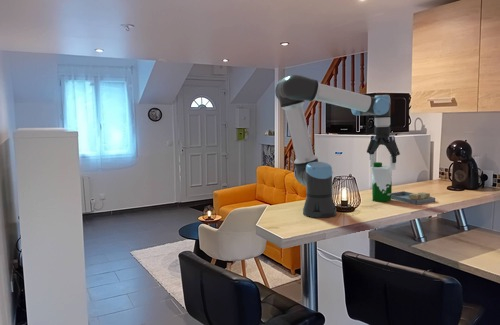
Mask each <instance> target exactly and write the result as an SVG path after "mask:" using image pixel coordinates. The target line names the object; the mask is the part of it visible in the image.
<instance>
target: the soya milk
mask: <svg viewBox="0 0 500 325" xmlns="http://www.w3.org/2000/svg"><path fill="white" fill-rule="evenodd" d="M371 174H372V176H371V177H372V179H371V180H372V185H371V186H372V187H371V188H372V189H371V190H372V191H371V193H372V194H371V195H372V198H371V199H372V200H371V201H372V202H378V203H388V202H390V201H392V199H391V193H393V191H392V190H393V189H392V185H393V184H392V183H393V182H392V181H393V177H392V176H393V170H390V166H387V165H383V163H382V162H378V161H377V162H376V161H375V163H374V167H371Z"/></svg>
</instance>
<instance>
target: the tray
mask: <svg viewBox="0 0 500 325" xmlns="http://www.w3.org/2000/svg"><path fill="white" fill-rule="evenodd" d="M412 193H413V192H409V191H405V190H402V191H397V192H396V191H395V192H392V193H391V200H395V201H398V202H403V203H408V204H411V205H414V206H417V205H423V204H428V203H434V202H436V197H435V196H430V198H429V199H423V200H417V201H416V200H411V199H409V194H412Z"/></svg>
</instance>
